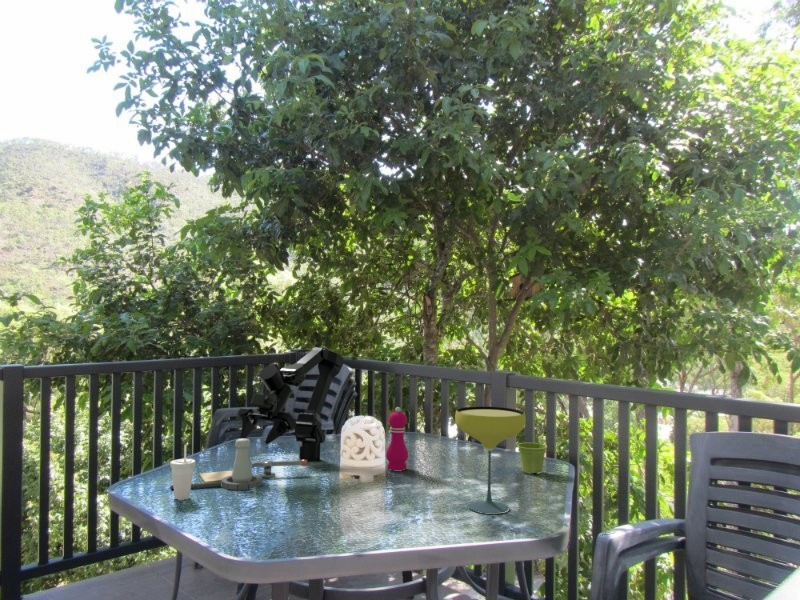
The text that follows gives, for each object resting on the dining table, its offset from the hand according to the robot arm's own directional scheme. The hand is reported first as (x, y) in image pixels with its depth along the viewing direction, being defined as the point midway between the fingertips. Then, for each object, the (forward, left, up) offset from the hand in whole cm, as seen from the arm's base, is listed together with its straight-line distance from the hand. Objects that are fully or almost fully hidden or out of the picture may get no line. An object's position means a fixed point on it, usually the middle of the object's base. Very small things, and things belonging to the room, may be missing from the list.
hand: (253, 441), depth 185 cm
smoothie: (+19, +14, -12) cm, 26 cm away
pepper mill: (-46, -3, -12) cm, 47 cm away
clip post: (-5, -4, -11) cm, 13 cm away
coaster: (+9, -5, -11) cm, 16 cm away
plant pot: (-87, +11, -12) cm, 88 cm away
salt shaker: (+3, +4, -12) cm, 13 cm away
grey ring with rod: (+10, +4, -11) cm, 16 cm away
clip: (-8, -4, -9) cm, 13 cm away
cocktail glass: (-57, +42, -12) cm, 71 cm away
